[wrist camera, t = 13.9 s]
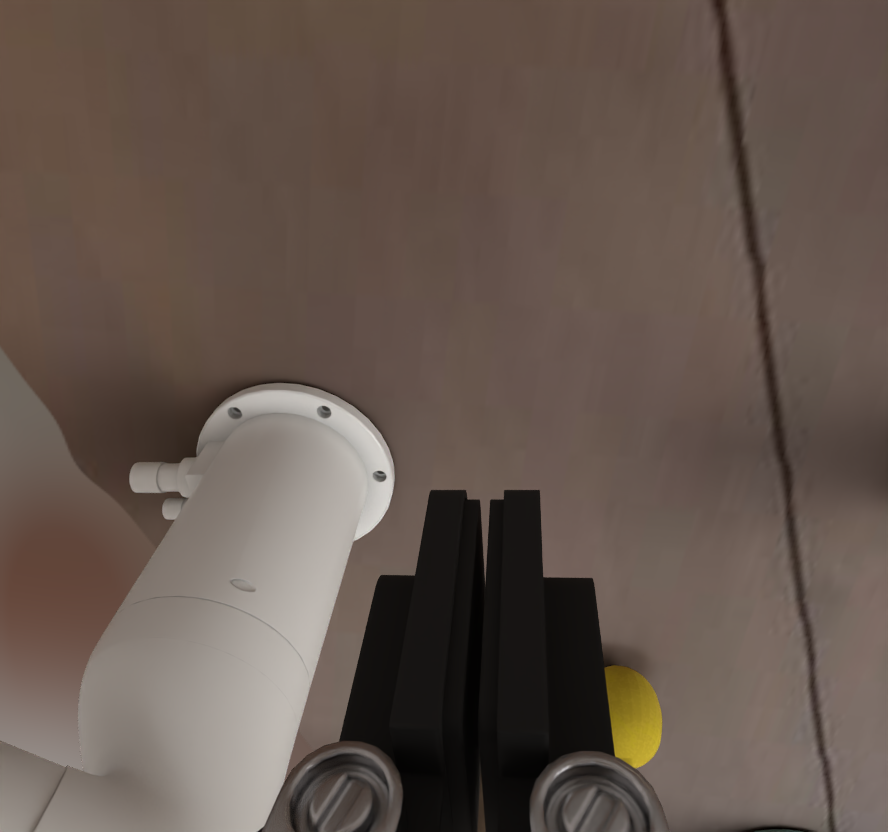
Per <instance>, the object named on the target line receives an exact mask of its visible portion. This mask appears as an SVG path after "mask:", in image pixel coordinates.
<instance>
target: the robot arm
mask: <svg viewBox="0 0 888 832" xmlns="http://www.w3.org/2000/svg"><path fill="white" fill-rule="evenodd" d="M326 406H327V407H326ZM394 481H395V474H394V463H393V460H392V457H391V454H390V450H389V448H388V446H387V444H386V442H385V441H384V439H383V437H382V435H381V433H380V432H379V431H378V430H377V429H376V427H375V426H374V425H373V424H372V423H371V421H370V420H369V419H368V418H367V417H365V416H364V415H363V414H362V413H361V412H360V411H358V410H357V409H356V408H355V407H354V406H352V405H350V404H349V403H347V402H345V401H344V400H342V399H340V398H339V397H337V396H335V395H332V394H330V393H327V392H325V391H322V390H320V389H317V388H313V387H308V386H304V385H300V384H289V383H272V384H262V385H257V386H254V387H251V388H247V389H244V390H241V391H240V392H238V393H236V394H234V395H232V396H230V397H229V398H227V399H226V400H225V401H224V402H223V403H222V404H220V405H219V406H218V407H217V408H216V409H215V411H214V412H213V413H212V415H211V416H210V417H209V419H208V420H207V421H206V423H205V425H204V427H203V429H202V431H201V433H200V435H199V440H198V445H197V457H186V458H184V459H183V460H182V461H181V462H180V463H166V462H138V463H135V464H134V465H133V466H132V468H131V471H130V474H129V483H130V486H131V489H132V490H133V491H134V492H135V493H166V492H180V494H181V495H182V496H183V497H186V498H167V499H166V500H165V501H164V503H163V507H162V513H163V517H164V518H165V519H168V520H175V521H174V522H173V524H172V525H171V527H170V529H169V530H168V532H167V533H166V535H165V536H164V538H163V540H162V541H161V543H160V544H159V546H158V548H157V549H156V551H155V552H154V554H153V556H152V557H151V559H150V560H149V562H148V563H147V565H146V567H145V568H144V570H143V572H142V573H141V574H140V576H139V578H138V579H137V581H136V582H135V584H134V586H133V587H132V589H131V590H130V592H129V593H128V595H127V597H126V598H125V600H124V601H123V603H122V604H121V606H120V608H119V609H118V611H117V612H116V614H115V616H114V617H113V619H112V620H111V622H110V624H109V625H108V627H107V628H106V630H105V631H104V633H103V635H102V636H101V638H100V640H99V642H98V643H97V645H96V647H95V648H94V650H93V652H92V654H91V656H90V658H89V661H88V664H87V667H86V669H85V672H84V676H83V679H82V684H81V690H80V695H79V706H78V731H79V742H80V752H81V759H82V766H83V771H81V770H78V769H75V768H73V767H70V766H66V767H63V766H61V765H58V764H56V763H54V762H51V761H49V760H46V759H44V758H41V757H39V756H36V755H34V754H32V753H29V752H27V751H24V750H22V749H19V748H17V747H15V746H12V745H10V744H7V743H5V742H2V741H0V832H478V813H479V793H480V773H481V778H482V791H483V804H484V817H485V829H486V832H670V829H669V826H668V823H667V820H666V817H665V814H664V811H663V808H662V805H661V803H660V801H659V799H658V797H657V795H656V793H655V791H654V789H653V787H652V786H651V785H650V783H649V782H648V781H647V780H646V779H645V778H644V777H643V775H642V774H641V773H640V772H639V771H638V770H637V769H635V768H634V767H632V766H631V765H629V764H628V763H626V762H625V761H623V760H622V759H620V758H617V757H615V751H614V743H613V735H612V727H611V718H610V710H609V702H608V694H607V685H606V677H605V669H604V661H603V652H602V644H601V636H600V628H599V619H598V611H597V603H596V595H595V587H594V582H593V578H545V577H543V563H542V536H541V510H540V490H504V500H490V515H489V532H488V550H487V567H486V585H485V576H484V559H483V542H482V524H481V507H480V500H467V493H466V490H431V491H430V494H429V499H428V505H427V511H426V517H425V522H424V528H423V534H422V539H421V545H420V551H419V557H418V562H417V568H416V574H415V576H408V575H381V576H380V577H379V579H378V581H377V585H376V588H375V592H374V596H373V600H372V605H371V609H370V613H369V617H368V622H367V626H366V630H365V634H364V639H363V643H362V647H361V651H360V656H359V660H358V664H357V668H356V673H355V677H354V681H353V685H352V689H351V694H350V698H349V702H348V706H347V711H346V715H345V719H344V723H343V728H342V732H341V736H340V740H339V742H336V743H332V744H328V745H324V746H322V747H321V748H319V749H317V750H315V751H314V752H312V753H310V754H308V755H307V756H306V757H305V758H304V759H303V760H302V761H301V762H300V763H298V764H297V765H296V767H294V768H293V769H292V771H291V772H290V774H289V776H288V777H287V779H286V781H285V782H284V780H285V776H286V772H287V768H288V764H289V761H290V757H291V753H292V749H293V746H294V742H295V738H296V735H297V731H298V728H299V724H300V721H301V717H302V714H303V711H304V707H305V704H306V700H307V697H308V693H309V689H310V686H311V683H312V679H313V676H314V673H315V669H316V666H317V662H318V659H319V656H320V652H321V649H322V645H323V642H324V639H325V635H326V632H327V628H328V625H329V622H330V618H331V615H332V611H333V608H334V605H335V601H336V598H337V594H338V591H339V588H340V584H341V581H342V578H343V574H344V571H345V567H346V564H347V561H348V557H349V554H350V550H351V547H352V544H353V541H355V540H357V539H359V538H361V537H362V536H364V535H365V534H367V533H368V532H370V531H371V530H372V529H373V528H374V527H375V526H376V525H377V524H378V523H379V522H380V521H381V519H382V518H383V516H384V514H385V513H386V511H387V509H388V507H389V504H390V500H391V497H392V494H393V488H394ZM187 498H189V499H187Z"/></svg>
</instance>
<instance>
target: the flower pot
mask: <svg viewBox="0 0 888 832" xmlns="http://www.w3.org/2000/svg"><path fill="white" fill-rule="evenodd" d="M755 832H803V831H797V830H790V829H781V830H760V831H755Z"/></svg>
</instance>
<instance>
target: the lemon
mask: <svg viewBox="0 0 888 832" xmlns="http://www.w3.org/2000/svg"><path fill="white" fill-rule="evenodd" d="M604 669H605V677H606V685H607V694H608V702H609V710H610V718H611V727H612V735H613V743H614V751H615V757H617V758H620V759H622V760H623V761H625V762H626V763H628V764H629V765H631V766H632V767H634V768H638V767H640V766H642V765H644V764H646V763H647V762H648V761H649V760H650V759H652V757H653V756H654V755H655V753H656V751H657V749H658V747H659V744H660V740H661V733H662V714H661V709H660V705H659V702H658V699H657V696H656V694H655V691H654V690H653V688H652V686H651V685H650V684H649V682H648V681H647V680H646V679H645V678H644V677H643V676H642V675H641V674H639V673H638V672H636V671H635V670H633V669H630V668H628V667H624V666H617V665H613V666H609V667H605V668H604Z"/></svg>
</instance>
